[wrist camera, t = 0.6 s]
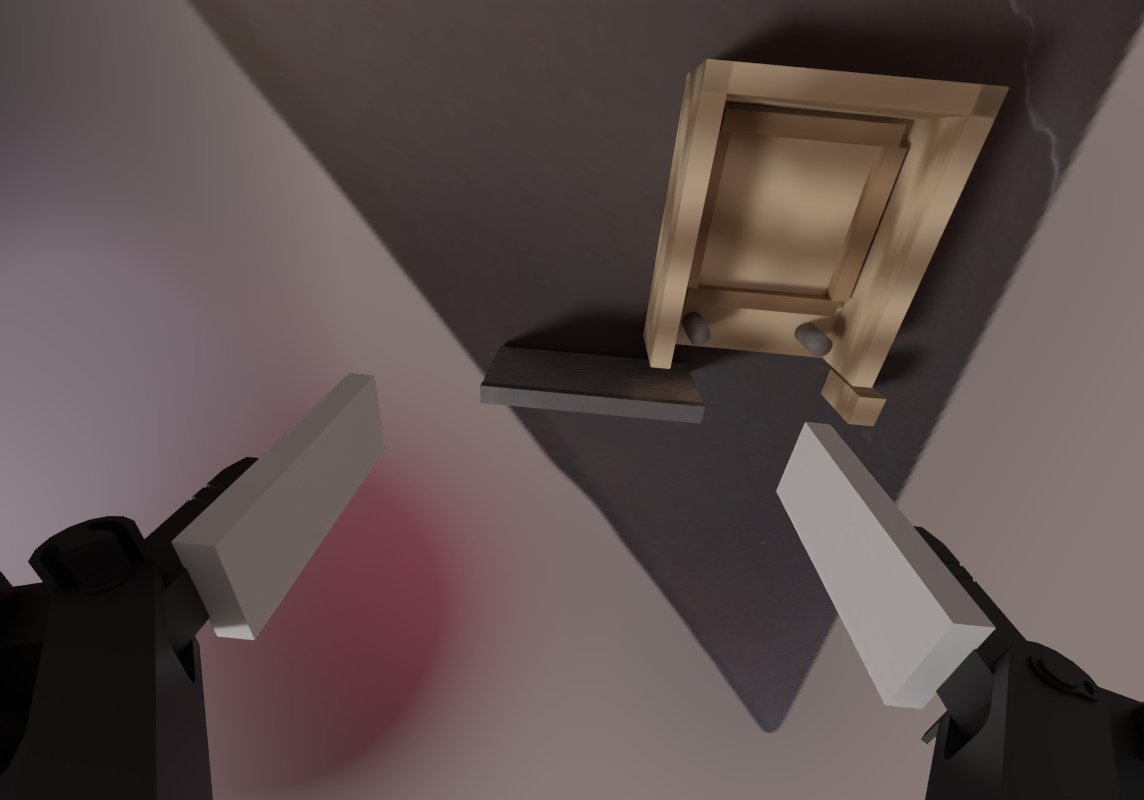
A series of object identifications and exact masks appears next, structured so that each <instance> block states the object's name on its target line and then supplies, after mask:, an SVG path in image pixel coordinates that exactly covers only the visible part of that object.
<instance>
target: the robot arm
mask: <svg viewBox="0 0 1144 800" xmlns="http://www.w3.org/2000/svg"><path fill="white" fill-rule="evenodd" d="M384 450H385V449H384V441H383V434H382V427H381V419H380V412H379V404H378V397H377V390H376V382H375V376H372V375H362V374H353V373H349V374H348V375H347V376H346V377H345V378H344V379H343V380H341V381H340V383H338V384H337V385H336V386H335V387H334V388H333V389H332V390H331V391H330V392H329V393H328V394H327V395H326V396H325V397H324V398H323V399H322V400H320V401H319V402H318V403H317V404H316V405H315V406H314V407H313V408H312V409H311V410H310V411H309V412H308V413H307V414H306V415H305V416H303V417H302V418H301V419H300V420H299V421H298V422H297V423H296V424H295V425H294V426H293V427H292V428H291V429H290V430H289V431H288V432H287V433H286V434H284V435H283V436H282V437H281V439H279V440H278V441H277V442H276V443H275V444H274V445H273V446H272V447H271V448H270V449H269V450H268V451H267V452H265V453H264V454H263V455H262V456H261V457H260V458H253V457H246V458H244V459H242V460H240V461H238V462H236V463H234V464H232V465H231V466H229V467H227V468H225V469H223V470H222V471H221V472H220V473H219V474H218V475H216V476H215V477H214V478H213V479H212V480H211V481H210V482H209V483H207V485H206V488H202V489H201V490H200V491H198V492H197V493H196V494H195V495H194V496H193V497H192V500H191V501H189V500H188V501H187V502H186V503H185V504H184V505H183V506H181V507H180V508H179V509H178V510H177V511H176V512H175V513H174V514H172V515H171V516H170V517H169V518H168V519H167V520H166V521H165V522H164V523H162V524H161V525H160V526H159V527H158V528H157V529H156V530H154V531H153V532H152V533H151V534H150V535H149V536H148V537H147V538H145V539H144V538H143V536H142V534H141V532H140V530H139V529H138V527H137V525H136V523H135V521H134V520H131V519H129V518H127V517H124V516H107V517H102V518H96V519H91V520H87V521H85V522H82V523H79V524H77V525H74V526H71V527H69V528H66V529H65V530H63V531H61V532H59V533H57V534H56V535H54V536H52V537H50V538H49V539H48V540H46V541H45V542H44V543H43V544H42V545H40V546H39V547H38V548H37V549H36V550H35V551H34V553H33V554H32V556H31V558H30V559H29V561H28V562H29V564H30V565H31V566H32V568H33V569H34V570H35V572H36V573H37V575H38V576H39V577H40V579H41V580H42V581H43V582H42V583H35V584H28V585H22V586H15V587H13V586H12V585H11V584H10V583H9V581H8V580H7V579H6V577H5V576H4V575H3V574H2V572H0V800H213V796H212V785H211V773H210V762H209V750H208V738H207V728H206V715H205V705H204V692H203V681H202V669H201V658H200V647H199V643H198V641H197V639H196V637H195V635H196V634H197V632H198V631H199V630H200V629H201V628H202V626H203V625H204V624H205V623H206V621H207V620H208V619H209V620H210V622H211V624H212V626H213V628H214V630H215V632H216V634H217V636H220V637H230V638H240V639H249V640H255V639H256V637H257V635H258V634H259V633H260V631H261V630H262V628H263V627H264V625H265V624H266V623H267V621H268V620H269V618H270V616H271V615H272V613H273V612H274V611H275V609H276V608H277V606H278V605H279V603H280V602H281V601H282V599H283V598H284V596H285V595H286V593H287V592H288V590H289V589H290V587H291V586H292V584H293V583H294V581H295V580H296V578H297V577H298V576H299V574H300V573H301V571H302V570H303V568H304V567H305V565H306V564H307V562H308V561H309V560H310V558H311V556H312V555H313V554H314V552H315V551H316V549H317V548H318V546H319V545H320V543H321V542H322V540H323V539H324V538H325V536H326V534H327V533H328V532H329V530H330V529H331V527H332V526H333V524H334V523H335V521H336V520H337V519H338V517H339V516H340V514H341V513H342V511H343V510H344V508H345V506H346V505H347V504H348V502H349V501H350V499H351V498H352V497H353V495H354V494H355V492H356V491H357V489H358V488H359V486H360V485H361V483H362V482H363V480H364V479H365V477H366V476H367V475H368V473H369V472H370V470H371V469H372V467H373V466H374V464H375V462H376V461H377V460H378V458H379V457H380V455H381V454H382V453H383V451H384ZM777 493H778V495H779V497H780V499H781V501H782V503H783V505H784V507H785V509H786V511H787V513H788V515H789V517H790V519H791V521H792V523H793V525H794V527H795V529H796V531H797V533H798V535H799V537H800V539H801V541H802V543H803V545H804V547H805V548H806V550H807V552H808V554H809V556H810V558H811V560H812V562H813V564H814V566H815V568H816V570H817V572H818V574H819V576H820V578H821V580H822V582H823V584H824V586H825V588H826V590H827V592H828V594H829V596H830V598H831V600H832V602H833V604H834V605H835V607H836V609H837V611H838V613H839V615H840V617H841V619H842V621H843V623H844V625H845V627H846V629H847V631H848V633H849V635H850V637H851V639H852V641H853V642H854V644H855V647H856V649H857V651H858V652H859V655H860V657H861V658H862V661H863V662H864V664H865V666H866V668H867V670H868V672H869V674H870V676H871V678H872V680H873V682H874V684H875V686H876V688H877V690H878V692H879V694H880V696H881V698H882V700H883V702H884V704H885V705H889V706H899V707H908V708H918V709H922V708H923V707H924V706H925V705H926V704H927V703H928V701H929V700H930V699H931V698H932V697H933V696H934V695H935V694H936V693H937V694H938V695H939V697H940V698H941V700H942V702H943V703H944V705H945V707H946V708H947V711H946V712H945V713H944V714H943V715H942V716H941V717H940V718H939V719H938V720H937V721H936V723H934V725H932V727H931V728H930V729H929V730H928V731H927V732H926V733H925V734H924V736H923V738H922V741H924V742H925V743H926V744H928V743H929V742H930V741H931V740H932V739H933V738H934V737H936V743H935V749H934V754H933V759H932V764H931V770H930V775H929V781H928V786H927V792H926V798H925V800H1144V702H1139V701H1136V700H1134V699H1131V698H1128V697H1125V696H1122V695H1119V694H1117V693H1114V692H1111V691H1109V690H1106V689H1103V688H1100V687H1098V686H1097V685H1096V684H1095V682H1094V681H1093V680H1092V679H1091V677H1090V676H1089V675H1088V674H1087V673H1085V672H1084V671H1083V670H1082V669H1081V668H1080V667H1078V666H1077V665H1076V664H1075V663H1074V662H1072V661H1071V660H1069V659H1068V658H1066V657H1064V656H1063V655H1061V654H1060V653H1058V652H1057V651H1055V650H1053V649H1051V648H1048V647H1046V646H1044V645H1041V644H1039V643H1036V642H1031V641H1026V640H1025V638H1024V637H1023V636H1022V635H1021V634H1020V632H1019V631H1018V630H1017V629H1016V628H1015V626H1014V625H1013V624H1012V623H1011V622H1010V621H1009V620H1008V618H1007V617H1006V616H1005V615H1004V614H1003V613H1002V611H1001V610H1000V609H999V608H998V607H997V605H996V604H995V603H994V602H993V601H992V600H991V598H990V597H989V596H988V595H987V594H986V593H985V591H984V590H983V589H982V588H981V587H980V586H979V585H978V584H977V582H973V577H972V576H971V575H970V574H969V573H968V572H967V570H966V569H965V568H964V567H963V566H960V564H959V563H960V562H959V561H958V560H957V559H956V558H955V556H954V555H953V554H952V553H951V552H950V551H949V549H948V548H947V547H946V546H945V545H944V544H943V543H942V542H941V541H939V540H938V539H937V538H935V537H934V536H933V535H932V534H930V533H929V532H928V531H926V530H925V529H924V528H922V527H916V526H912V524H911V523H910V522H909V521H908V520H907V518H906V517H905V516H904V515H903V513H902V512H901V511H900V510H899V508H898V507H897V506H896V505H895V503H894V502H893V501H892V500H891V499H890V497H889V496H888V495H887V494H886V492H885V491H884V490H883V489H882V488H881V486H880V485H879V484H878V483H877V481H876V480H875V479H874V478H873V476H872V475H871V474H870V473H869V472H868V470H867V469H866V468H865V467H864V465H863V464H862V463H861V462H860V461H859V459H858V458H857V457H856V456H855V454H854V453H853V452H852V451H851V450H850V448H849V447H848V446H847V445H846V443H845V442H844V441H843V440H842V438H841V437H840V436H839V435H838V434H837V432H836V431H835V430H834V429H833V427H832V426H831V425H828V424H819V423H810V422H805V424H804V426H803V429H802V431H801V433H800V436H799V438H798V441H797V443H796V445H795V448H794V450H793V453H792V455H791V457H790V460H789V462H788V464H787V467H786V469H785V472H784V474H783V476H782V479H781V481H780V483H779V486H778V488H777Z"/></svg>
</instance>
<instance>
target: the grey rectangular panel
mask: <svg viewBox="0 0 1144 800" xmlns="http://www.w3.org/2000/svg"><path fill="white" fill-rule="evenodd" d="M480 389H481V403H490V404H499V405H510V406H520V407H531V408H542V409H552V410H563V411H574V412H584V413H595V414H606V415H616V416H627V417H638V418H648V419H659V420H670V421H680V422H691V423H701V420H702V416H703V413H704V409H705V406H704V403H702V400H701V398H700V395H699V393H698V390H697V388H696V386H695V383H694V381H693V378H692V376H691V373H690V371H689V369H688V366H687V364H686V363H678V362H671V367H670V369H666V368H655V367H651V366H650V362H649V360H646V359H635V358H625V357H614V356H603V355H593V354H582V353H571V352H560V351H550V350H539V349H528V348H518V347H507V346H500V347H499V349H498V351H497V354H496V356H495V358H494V360H493V362H492V364H491V366H490V368H489V370H488V372H487V374H486V376H485V379H484V381H483V382H482V383H481V386H480Z"/></svg>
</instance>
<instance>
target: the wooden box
mask: <svg viewBox="0 0 1144 800" xmlns="http://www.w3.org/2000/svg"><path fill="white" fill-rule="evenodd" d="M1008 89H1009V87H1005V86H994V85H983V84H973V83H962V82H951V81H940V80H929V79H919V78H908V77H897V76H886V75H875V74H865V73H854V72H843V71H832V70H821V69H810V68H800V67H789V66H778V65H767V64H756V63H746V62H735V61H724V60H713V59H706V60H705V61H704V62H703V63H701V64H700V65H699V66H697V67H696V68H695V69H694V70H692V71H691V72H690V73H689V74H687V77H686V83H685V89H684V95H683V101H682V107H681V113H680V119H679V125H678V131H677V137H676V143H675V149H674V155H673V161H672V167H671V173H670V179H669V184H668V190H667V196H666V202H665V208H664V214H663V220H662V226H661V232H660V238H659V244H658V250H657V256H656V262H655V268H654V274H653V280H652V286H651V292H650V298H649V304H648V310H647V316H646V322H645V328H644V334H643V337H644V341H645V345H646V350H647V354H648V358H649V362H650V366H651V367H655V368H666V369H670V367H671V362H672V357H673V352H674V348H675V344H681V345H691V346H702V347H713V348H723V349H734V350H745V351H756V352H766V353H777V354H788V355H798V356H809V357H820V358H823V359H824V360H825V361H826V362H828V363H829V364H830V365H831V366H832V367H833V368H834V369H830V371H829V374H828V377H827V379H826V382H825V384H824V387H823V389H822V392H821V394H822V395H823V396H824V398H825V399H826V400H827V401H828V402H829V403H830V404H831V405H832V406H833V408H834V409H835V410H836V411H837V412H838V413H839V414H840V415H841V416H842V418H843V419H844V420H845V421H846V422H847V423H848V424H856V425H867V426H874V424H875V422H876V420H877V418H878V416H879V414H880V412H881V410H882V407H883V405H884V403H885V401H886V399H885V398H884V397H883V396H882V395H881V394H879V393H878V392H877V391H876V390H875V389H874V388H873V387H872V386H873V384H874V382H875V380H876V378H877V376H878V373H879V371H880V369H881V367H882V365H883V362H884V360H885V358H886V356H887V354H888V351H889V349H890V347H891V345H892V343H893V341H894V338H895V336H896V334H897V332H898V330H899V327H900V325H901V323H902V321H903V319H904V317H905V314H906V312H907V310H908V308H909V306H910V303H911V301H912V299H913V297H914V295H915V293H916V290H917V288H918V286H919V284H920V282H921V279H922V277H923V275H924V273H925V271H926V268H927V266H928V264H929V262H930V260H931V258H932V255H933V253H934V251H935V249H936V247H937V244H938V242H939V240H940V238H941V236H942V234H943V231H944V229H945V227H946V225H947V223H948V220H949V218H950V216H951V214H952V212H953V210H954V207H955V205H956V203H957V201H958V199H959V196H960V194H961V192H962V190H963V188H964V185H965V183H966V181H967V179H968V177H969V175H970V172H971V170H972V168H973V166H974V164H975V161H976V159H977V157H978V155H979V153H980V151H981V148H982V146H983V144H984V142H985V140H986V137H987V135H988V133H989V131H990V129H991V127H992V124H993V122H994V120H995V118H996V116H997V113H998V111H999V109H1000V107H1001V105H1002V102H1003V100H1004V98H1005V96H1006V94H1007V92H1008Z"/></svg>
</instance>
